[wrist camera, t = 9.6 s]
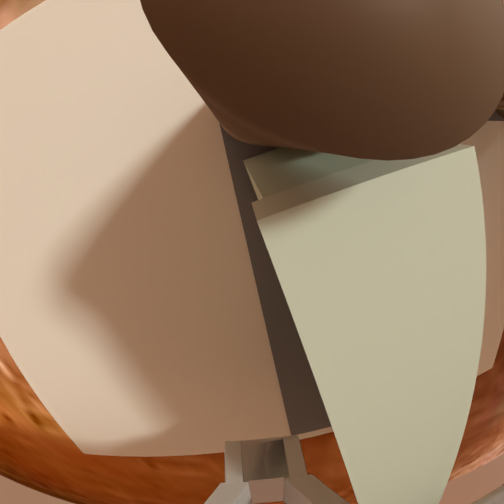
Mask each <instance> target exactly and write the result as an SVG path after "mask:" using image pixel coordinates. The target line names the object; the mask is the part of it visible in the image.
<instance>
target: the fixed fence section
mask: <svg viewBox="0 0 504 504" xmlns="http://www.w3.org/2000/svg"><path fill="white" fill-rule="evenodd" d="M140 2H141V6H142V9H143V11H144V14H145V16H146V18H147V20H148V22H149V24H150V27H151V29H152V31H153V32H154V34H155V35H156V37H157V38H158V40H159V41H160V43H161V44H162V46H163V47H164V49H165V50H166V52H167V53H168V54H169V56H170V57H171V58H172V60H173V61H174V62H175V63H176V65H177V66H178V67H179V69H180V70H181V71H182V73H183V74H184V75H185V77H186V78H187V79H188V81H189V82H190V83H191V85H192V86H193V87H194V89H195V90H196V91H197V93H198V94H199V95H200V97H201V98H202V99H203V101H204V102H205V104H206V105H207V106H208V108H209V109H210V110H211V112H212V113H213V115H214V116H215V117H216V119H217V120H218V121H219V123H220V124H221V126H222V127H223V128H224V130H225V131H226V132H227V133H228V134H229V135H230V136H231V137H233V138H234V139H236V140H238V141H240V142H243V143H246V144H252V145H263V146H273V147H282V148H291V149H299V150H307V151H314V152H321V153H328V154H335V155H341V156H348V157H353V158H359V159H373V160H386V161H390V160H406V159H416V158H420V157H425V156H430V155H435V154H437V153H440V152H442V151H445V150H448V149H450V148H453V147H455V146H457V145H458V144H460V143H461V142H463V141H465V140H466V139H468V138H470V137H471V136H472V135H473V134H474V133H476V132H477V131H478V130H479V129H480V128H481V127H482V126H483V125H484V124H485V123H486V122H487V120H488V119H489V118H490V117H491V115H492V114H493V113H494V111H495V110H496V111H497V113H498V114H499V115H500V116H502V117H503V118H504V6H503V3H502V0H140Z"/></svg>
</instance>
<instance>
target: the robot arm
mask: <svg viewBox="0 0 504 504" xmlns="http://www.w3.org/2000/svg"><path fill="white" fill-rule="evenodd" d="M277 501H284V503H285V504H350V503H349V502H347V501H346V500H345V499H343V498H342V497H341V496H339V495H338V494H337V493H335V492H334V491H333V490H332V489H330V488H329V487H328V486H326V485H325V484H324V483H323V482H321V481H320V480H319V479H318V478H317V477H315V476H314V475H313V474H307V470H306V465H305V461H304V457H303V452H302V448H301V444H300V439H299V437H298V435H292V436H285V437H273V438H265V439H255V440H243V441H225V483H220V484H219V485H218V487H217V488H216V489H215V490H214V492H213V493H212V494H211V495H210V497H209V498H208V499H207V500H206V502H205V503H204V504H257V503H266V502H277ZM471 504H504V484H503V485H501V486H499V487H498V488H496V489H495V490H493V491H492V492H490V493H488V494H487V495H485V496H484V497H482V498H480V499H478V500H477V501H475V502H473V503H471Z"/></svg>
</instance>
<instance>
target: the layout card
mask: <svg viewBox="0 0 504 504" xmlns="http://www.w3.org/2000/svg"><path fill="white" fill-rule="evenodd" d="M460 144H462V145H471V146H475V152H476V157H477V163H478V169H479V176H480V183H481V191H482V199H483V209H484V221H485V238H486V297H485V314H484V326H483V336H482V344H481V352H480V359H479V365H478V372H477V376H478V375H480V374H482V373H484V372H486V371H488V370H489V369H491V368H493V364H494V361H495V358H496V355H497V351H498V348H499V344H500V341H501V337H502V333H503V329H504V118H503V117H502V116H500V115H499V114H498V113H497V111H496V110H495V111H494V113H493V114H492V115H491V117H490V118H489V119H488V120H487V122H486V123H485V124H484V125H483V126H482V127H481V128H480V129H479V130H478V131H477V132H476V133H474V134H473V135H472V136H471V137H470V138H468V139H466V140H465V141H463V142H461V143H460ZM277 148H280V147H273V146H263V145H252V144H246V143H243V142H240V141H238V140H236V139H234V138H233V137H231V136H230V135H229V134H228V133H227V132H226V131H225V130H224V128H223V127H222V126H221V124H220V123H219V121H218V120H217V119H216V117H215V116H214V115H213V113H212V112H211V110H210V109H209V108H208V106H207V105H206V104H205V102H204V101H203V99H202V98H201V97H200V95H199V94H198V93H197V91H196V90H195V89H194V87H193V86H192V85H191V83H190V82H189V81H188V79H187V78H186V77H185V75H184V74H183V73H182V71H181V70H180V69H179V67H178V66H177V65H176V63H175V62H174V61H173V60H172V58H171V57H170V56H169V54H168V53H167V52H166V50H165V49H164V47H163V46H162V44H161V43H160V41H159V40H158V38H157V37H156V35H155V34H154V32H153V31H152V29H151V27H150V24H149V22H148V20H147V18H146V16H145V14H144V11H143V9H142V6H141V2H140V0H46V1H44V2H42V3H41V4H39V5H37V6H36V7H34V8H32V9H31V10H29V11H28V12H26V13H25V14H23V15H21V16H20V17H18V18H17V19H15V20H14V21H12V22H11V23H10V24H8V25H7V26H5V27H4V28H2V29H1V30H0V337H1V338H2V340H3V342H4V344H5V346H6V347H7V349H8V351H9V353H10V354H11V356H12V358H13V359H14V361H15V363H16V364H17V366H18V368H19V369H20V371H21V372H22V374H23V375H24V377H25V379H26V380H27V382H28V383H29V385H30V386H31V388H32V389H33V390H34V392H35V393H36V395H37V396H38V398H39V399H40V400H41V402H42V403H43V405H44V406H45V407H46V409H47V410H48V411H49V413H50V414H51V415H52V416H53V418H54V419H55V420H56V422H57V423H58V424H59V425H60V427H61V428H62V429H63V430H64V432H65V433H66V434H67V435H68V436H69V437H70V439H71V440H72V441H73V442H74V443H75V444H76V446H77V447H78V448H79V449H80V450H81V451H82V452H83V453H84V454H92V455H107V456H134V457H156V456H184V455H199V454H211V453H221V452H225V441H243V440H255V439H265V438H273V437H285V436H292V435H298V437H299V439H300V440H301V439H305V438H310V437H314V436H318V435H322V434H326V433H330V432H334V431H333V429H332V426H331V423H330V420H329V417H328V414H327V411H326V409H325V406H324V403H323V400H322V397H321V395H320V392H319V389H318V386H317V383H316V380H315V378H314V375H313V372H312V369H311V366H310V364H309V361H308V358H307V355H306V353H305V350H304V347H303V344H302V342H301V339H300V336H299V333H298V331H297V328H296V325H295V322H294V320H293V317H292V314H291V311H290V309H289V306H288V303H287V301H286V298H285V295H284V292H283V290H282V287H281V284H280V282H279V279H278V276H277V274H276V271H275V268H274V266H273V263H272V260H271V258H270V255H269V252H268V250H267V247H266V244H265V242H264V239H263V236H262V234H261V231H260V228H259V226H258V223H257V220H256V217H255V213H254V210H253V207H252V202H255V201H257V200H258V198H257V196H256V193H255V190H254V188H253V185H252V182H251V180H250V177H249V174H248V172H247V169H246V167H245V164H244V161H243V160H246V159H249V158H252V157H254V156H257V155H260V154H263V153H265V152H268V151H271V150H274V149H277Z"/></svg>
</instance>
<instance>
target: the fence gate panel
mask: <svg viewBox="0 0 504 504" xmlns="http://www.w3.org/2000/svg"><path fill="white" fill-rule="evenodd" d="M243 161H244V164H245V167H246V169H247V172H248V174H249V177H250V180H251V182H252V185H253V188H254V190H255V193H256V196H257V198H258V200H257V201H255V202H252V207H253V210H254V213H255V217H256V220H257V223H258V226H259V228H260V231H261V234H262V236H263V239H264V242H265V244H266V247H267V250H268V252H269V255H270V258H271V260H272V263H273V266H274V268H275V271H276V274H277V276H278V279H279V282H280V284H281V287H282V290H283V292H284V295H285V298H286V301H287V303H288V306H289V309H290V311H291V314H292V317H293V320H294V322H295V325H296V328H297V331H298V333H299V336H300V339H301V342H302V344H303V347H304V350H305V353H306V355H307V358H308V361H309V364H310V366H311V369H312V372H313V375H314V378H315V380H316V383H317V386H318V389H319V392H320V395H321V397H322V400H323V403H324V406H325V409H326V411H327V414H328V417H329V420H330V423H331V426H332V429H333V431H334V434H335V437H336V440H337V443H338V446H339V449H340V452H341V455H342V457H343V460H344V463H345V466H346V469H347V472H348V475H349V478H350V481H351V484H352V487H353V490H354V493H355V496H356V499H357V502H358V504H439V501H440V499H441V497H442V494H443V492H444V489H445V487H446V484H447V482H448V479H449V477H450V474H451V471H452V468H453V465H454V463H455V460H456V457H457V454H458V450H459V447H460V444H461V441H462V437H463V434H464V430H465V427H466V423H467V419H468V415H469V411H470V407H471V402H472V398H473V393H474V388H475V383H476V377H477V372H478V365H479V359H480V352H481V344H482V336H483V326H484V314H485V297H486V238H485V221H484V209H483V199H482V191H481V183H480V176H479V169H478V163H477V157H476V152H475V146H471V145H462V144H458V145H457V146H455V147H453V148H450V149H448V150H445V151H442V152H440V153H437V154H435V155H430V156H425V157H420V158H416V159H406V160H390V161H386V160H373V159H359V158H353V157H348V156H341V155H335V154H328V153H321V152H314V151H307V150H299V149H291V148H282V147H280V148H277V149H274V150H271V151H268V152H265V153H263V154H260V155H257V156H254V157H252V158H249V159H246V160H243Z"/></svg>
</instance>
